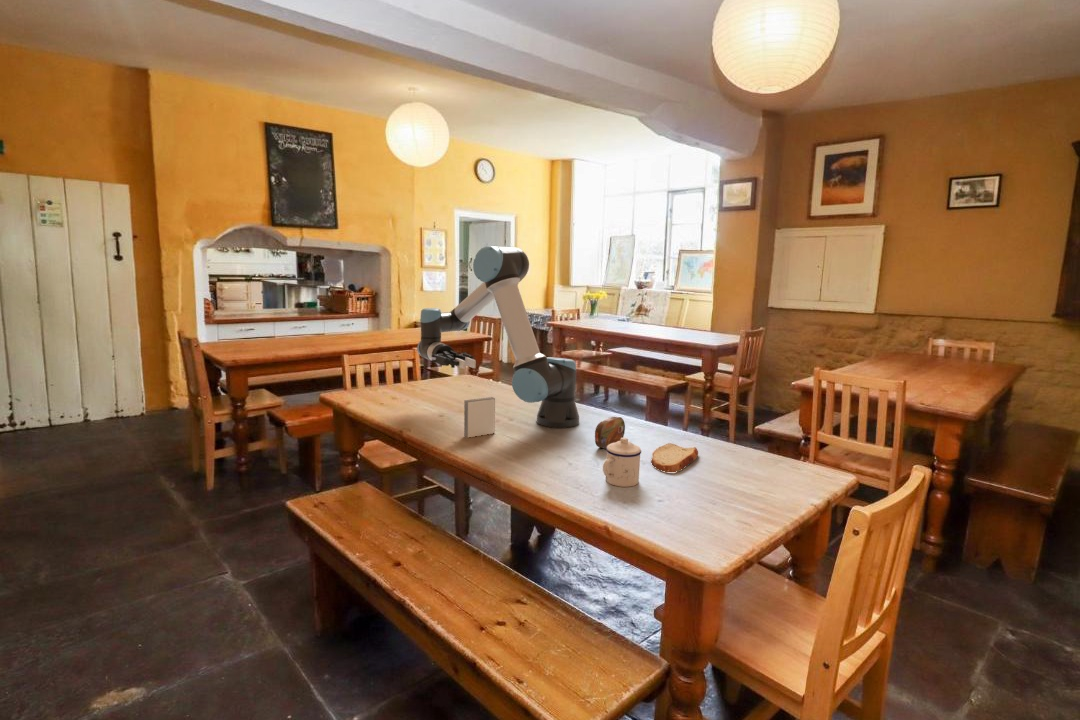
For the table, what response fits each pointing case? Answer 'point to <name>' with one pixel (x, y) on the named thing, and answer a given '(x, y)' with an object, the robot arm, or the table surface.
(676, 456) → the bread slice
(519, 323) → the robot arm
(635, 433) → the table surface
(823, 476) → the table surface
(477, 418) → the ceramic tile
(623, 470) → the teacup with lid
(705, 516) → the table surface
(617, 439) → the tin
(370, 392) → the table surface
